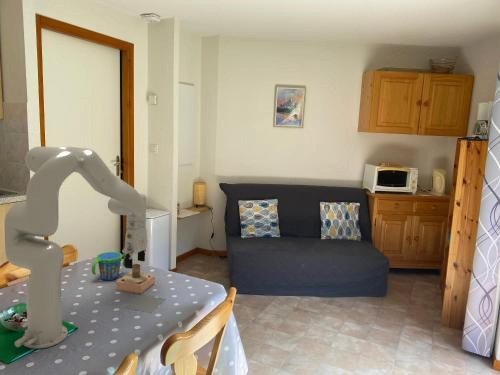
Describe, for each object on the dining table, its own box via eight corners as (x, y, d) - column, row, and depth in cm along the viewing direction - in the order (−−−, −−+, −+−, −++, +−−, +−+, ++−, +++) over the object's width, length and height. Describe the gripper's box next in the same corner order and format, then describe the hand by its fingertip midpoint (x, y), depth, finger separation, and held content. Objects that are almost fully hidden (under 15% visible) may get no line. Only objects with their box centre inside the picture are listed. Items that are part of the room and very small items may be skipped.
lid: (140, 284, 152) (140, 271, 151) (118, 281, 154) (118, 267, 154) (152, 275, 162) (152, 262, 161) (131, 272, 164) (132, 259, 163)
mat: (151, 313, 137) (151, 312, 137) (121, 308, 140) (121, 307, 140) (166, 299, 149) (166, 299, 149) (139, 295, 152) (139, 294, 152)
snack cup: (121, 270, 177) (121, 249, 175) (131, 277, 169) (131, 255, 167) (87, 277, 166) (86, 255, 164) (96, 285, 158) (96, 262, 157)
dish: (141, 295, 152) (141, 285, 151) (116, 290, 155) (116, 281, 154) (154, 284, 163) (155, 275, 162) (131, 280, 166) (131, 271, 165)
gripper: (132, 229, 145) (131, 272, 147) (154, 221, 162) (153, 259, 164) (115, 227, 147) (114, 269, 149) (139, 219, 164) (138, 257, 166)
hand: (135, 264), depth 157 cm, fingers open, 9 cm apart
